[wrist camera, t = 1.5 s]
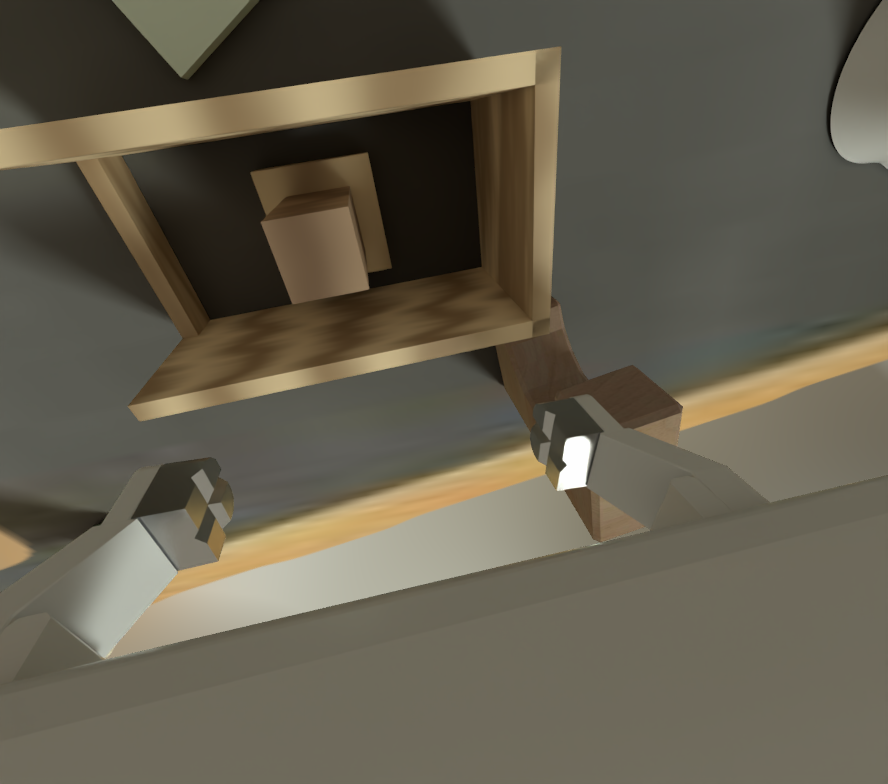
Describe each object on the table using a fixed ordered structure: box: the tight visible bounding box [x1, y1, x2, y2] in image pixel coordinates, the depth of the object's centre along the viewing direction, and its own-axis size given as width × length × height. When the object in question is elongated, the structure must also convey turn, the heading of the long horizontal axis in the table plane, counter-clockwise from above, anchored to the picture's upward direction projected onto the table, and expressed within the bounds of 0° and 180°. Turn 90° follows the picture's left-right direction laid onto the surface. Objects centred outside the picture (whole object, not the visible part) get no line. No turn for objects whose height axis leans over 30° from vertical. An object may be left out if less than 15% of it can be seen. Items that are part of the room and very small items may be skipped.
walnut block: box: [261, 186, 369, 304], centre depth 24 cm, size 4×4×9 cm
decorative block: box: [495, 296, 683, 542], centre depth 31 cm, size 11×6×20 cm, turn 15°
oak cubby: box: [0, 47, 561, 421], centre depth 25 cm, size 26×14×12 cm, turn 97°
